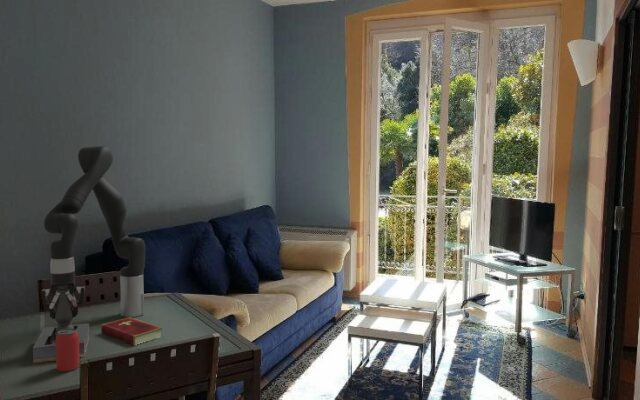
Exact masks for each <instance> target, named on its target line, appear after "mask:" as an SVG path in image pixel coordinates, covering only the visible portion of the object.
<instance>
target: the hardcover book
mask: <svg viewBox="0 0 640 400" xmlns="http://www.w3.org/2000/svg"><path fill="white" fill-rule="evenodd" d="M162 330H163V327H160V326H158V325H155V324H152V323H148V322H145V321H143V320H140V319H136V318H135V317H124V318H121V319H117V320H114V321H110V322H105V323H102V324H101V327H100V332H101V334H102V335H104V336H107V337H110V338H112V339H114V340H117V341H120V342H122V341H123V343H125V342H126V343H125V344H128V345H130V344H131V345H130V346H133V347H135V346H137V344H138V345H140V343H141V344H143V342H144V343H146V341H147V342H150V341H153V340H156V339H159V338H161V335H162V334H161V331H162Z"/></svg>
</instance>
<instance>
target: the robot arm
mask: <svg viewBox="0 0 640 400" xmlns="http://www.w3.org/2000/svg"><path fill="white" fill-rule="evenodd" d="M113 157H114V156H113V153H112V151H111V149H110V148H109V147H106V146H87V147H82V148H80V149H79V151H78V154H77V158H78V164H79V166H80V169H81V170H82V173H84V174H82V175H81V176H79V177H80V178H78V179H77V180H75V181H74V182H73V183H72V184H71V185H70V186H69V187H68V188H67V190H66V191H65V194H64V195H63V197H62V199H61V201H59V202H58V203H57V204H56V205H55V206H54V207H53V208H52V209H50V211H49V212H48V213H47V215H46V216H45V218H44V221H43V226H44V230H45V231H46V232H48V233H49V234H50V233H51V234H60V235H61V234H62V236H61V238H60V239H58V240H53V241H52V242H51V243H50V267H49V270H50V271H49V272H50V288H47V289H44V288H43V289H42V290H41V291H40V297H41V301H42V306H43V308H48V309H49V318H51V320H55V318H54V316H55V311H56V307H55V304H57V302H58V301H57V299H58V297H59V295H60V293H58V292H55V290H57V289H58V287H57V286H66V285H69V286H68V288H69V289H70V291H68V292H66V295H67V296H68V298H69V300H70V302H71V305H72V309H73V318H76V317H77V316H78V314H79V305H80V306H81V305H84V304H83V303H84V301H85V293H86V286H85V285H83V286H77V285H76V269H75V267H76V266H75V257H74V244H75V239H76V237H77V233H78V230H79V220H78V217H76V214H78V213H80V211H82V208H83V206H84V205H85V203H86V201H87V199H88V197H89V195H90V194H91V192H92V191H93V193H94V196H95V198H96V201H97V203H98V206H99V208H100V211H101V213H102V215H103V218H104V220H105V222H106V225H107V227H108V230H109V233H110V236H111V240H112V243H113V247H114V250H115V253H116V255H117V256H118V257H119V258H121V259H127V260H129V261H128V265H127V266H123V267H122V268H120V271H119V273H120V274H119V277H120V278H119V279H120V282H119V283H120V316H121V317H124V318H128V317H131V318H135V317H136V318H137V317H139V316H145V299H144V297H145V293H144V291H145V290H144V270H145V266H146V244H145V241H144V240H143V238H140V237H131V236H130V237H129V235H128V234H127V232H126V229H125V221H126V217H127V211H128V210H127V207H126V204H125V201H124V199H123V195H122V194H121V193H120V192H119V190H118V189H116V188H115V187H114V186H113V184H111V183H110V182H108V180H107V179H105V177H104V176H105V174H106V173H107V172H108V170H109V169H110V168H111V166H112V164H113V159H114V158H113ZM76 291H77V292H78V294H80V295H79V300H77V299H76V297H75V293H76ZM49 294H51V295H52V296H53V299H51V303H50V302H49V301H48V296H49Z"/></svg>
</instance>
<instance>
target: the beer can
mask: <svg viewBox="0 0 640 400" xmlns="http://www.w3.org/2000/svg"><path fill="white" fill-rule="evenodd" d="M55 361H56V362H55V366H56V367H55V368H56V370H57V371H58V372H62V371H63V372H65V371H66V372H71V371H75V370H76V369H77V368H79V367H80V365H79V363H80V358H79V335H78V333H77V329H74V328H68V329H62V330H60V331H58V332H57V336H56V360H55Z"/></svg>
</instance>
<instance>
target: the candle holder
mask: <svg viewBox="0 0 640 400" xmlns="http://www.w3.org/2000/svg"><path fill="white" fill-rule="evenodd" d="M68 286H69V285H66V286H57V287H58V289H57V290H55V292H58V293H60V295H59V297H58V299H57V301H56V307H55V316H54V318H55V319H54V320H55V322H56V323H57V325H56V326H57V328H56V333H55V344H56V336H57V332H58V331H60V330H62V329H68V328H74V327H73V326H72V325H73V324H72V321H73V319H74V317H73V305H72V302H71V301H70V300H69V298H68V296H67V295H66V292H68V291H70V289H69V288H68Z"/></svg>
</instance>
